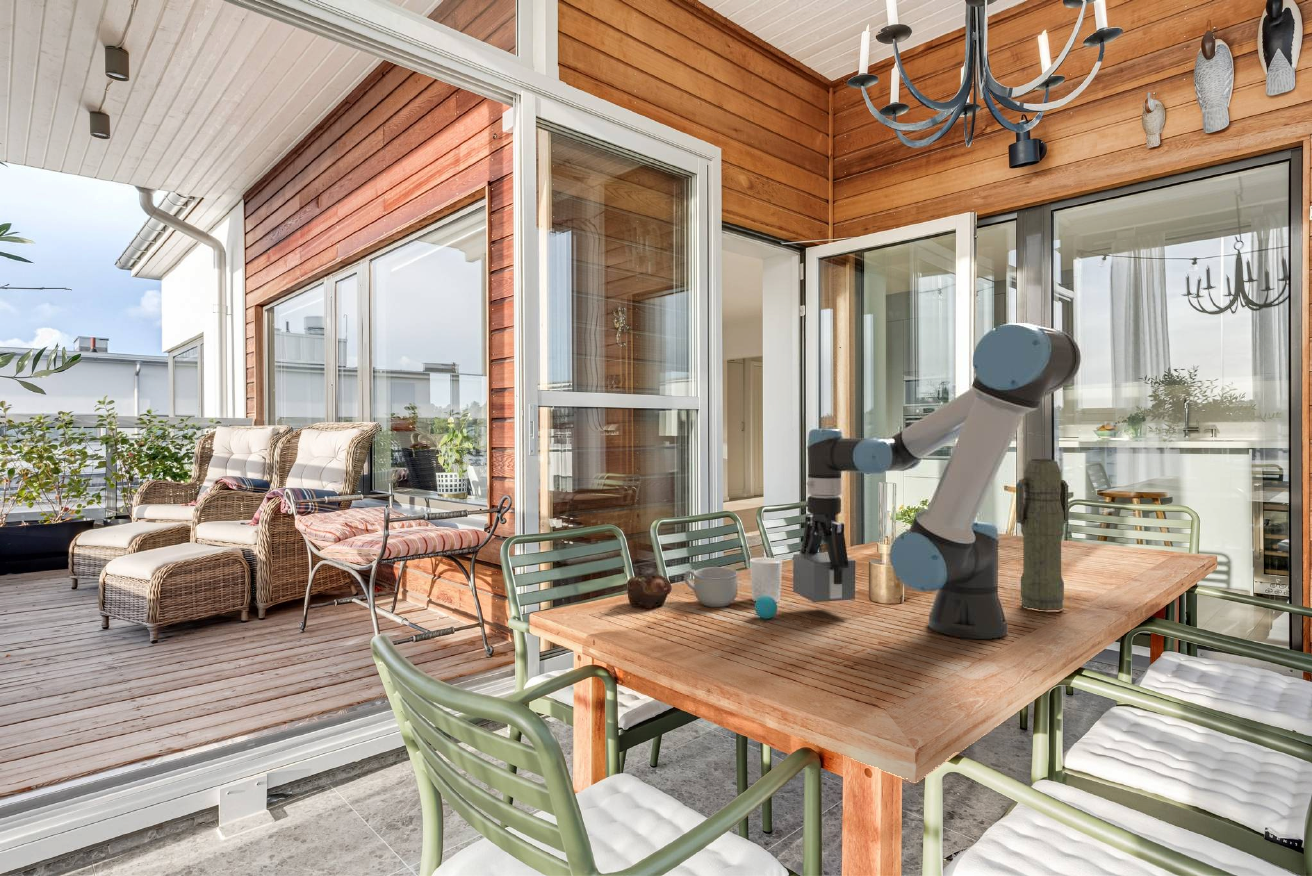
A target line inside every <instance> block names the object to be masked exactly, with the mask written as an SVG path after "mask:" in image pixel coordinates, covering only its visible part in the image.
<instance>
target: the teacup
mask: <svg viewBox="0 0 1312 876" xmlns="http://www.w3.org/2000/svg"><path fill="white" fill-rule="evenodd" d="M690 575H692V576H693V578H694V579H693V583H692V581H691V580H690ZM738 575H739V572H738V571H737V570H736V569H733V568H730V567H722V566H721V567H719V566H712V567H709V566H708V567H703V568H699V569H696V570H695V569H688V570H686V571H685V573H684V575H683V580H684V583H685V584H686V585H687V586H688V588H690V589H691V590H692V591H693V592H694V595H695V598H696V600H698V601H699V602H700V603H701V604H702V605H704V606H706V607H711V608H722V607H723V608H724V607H726V606H729V605H730V604H732V602H733V601H735V599H736V598H737V596H738V587H739V585H738V582H739V580H738V578H739V577H738Z"/></svg>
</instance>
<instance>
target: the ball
mask: <svg viewBox="0 0 1312 876" xmlns="http://www.w3.org/2000/svg"><path fill="white" fill-rule="evenodd" d="M754 610H755V611H754V612H755V613H756V615H757V616H758V617H760V618H761V619H763V620H764V619H765V620H768V619H771V618H773V617H774V616H775V615H776V614H777V611H778V604H777V603H776V602H775V600H774V599H773V598H771V597H769V596H762V597H760V598H759V599H758V600H757V601H756V602H754Z"/></svg>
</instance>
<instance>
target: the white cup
mask: <svg viewBox="0 0 1312 876" xmlns="http://www.w3.org/2000/svg"><path fill="white" fill-rule="evenodd" d="M749 569H750V570H749V571H750V573H749V574H750V588H751V599H752V601H753V602H755V601H757V600H758V599H759V598H760V597H762V596H769V597H771V598H773V599H774V600H775V602H777V603H779V602H780V600H781V589H782V588H781V587H782V569H783V560H782V559H779V558H776V557H764V556H763V557H762V556H761V557H753V558H750V559H749Z"/></svg>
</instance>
